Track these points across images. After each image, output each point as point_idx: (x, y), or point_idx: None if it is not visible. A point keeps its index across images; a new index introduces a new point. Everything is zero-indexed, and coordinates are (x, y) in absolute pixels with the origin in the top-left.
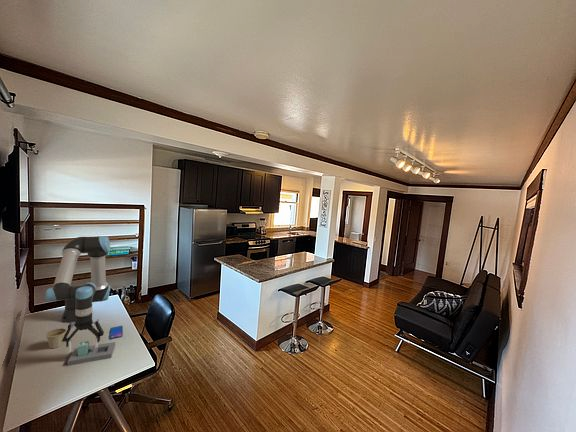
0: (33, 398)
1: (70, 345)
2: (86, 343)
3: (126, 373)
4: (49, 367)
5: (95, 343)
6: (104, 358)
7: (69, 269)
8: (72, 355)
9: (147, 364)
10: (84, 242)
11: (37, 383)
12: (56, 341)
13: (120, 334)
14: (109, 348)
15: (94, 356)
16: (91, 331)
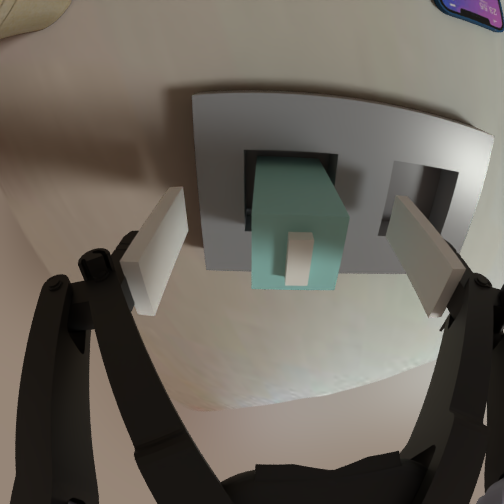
0: (178, 376)
1: (167, 266)
2: (329, 259)
3: None
4: (116, 232)
5: (406, 269)
6: None
7: None
8: (210, 206)
9: None
10: None
11: (140, 324)
12: (20, 24)
13: (492, 1)
14: (457, 210)
15: (369, 269)
16: (424, 414)
